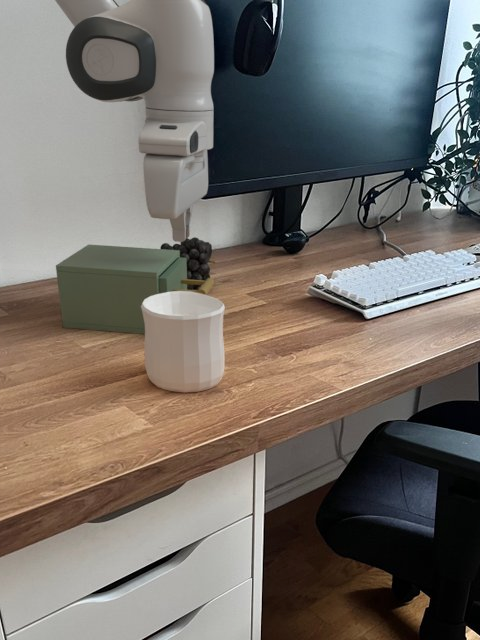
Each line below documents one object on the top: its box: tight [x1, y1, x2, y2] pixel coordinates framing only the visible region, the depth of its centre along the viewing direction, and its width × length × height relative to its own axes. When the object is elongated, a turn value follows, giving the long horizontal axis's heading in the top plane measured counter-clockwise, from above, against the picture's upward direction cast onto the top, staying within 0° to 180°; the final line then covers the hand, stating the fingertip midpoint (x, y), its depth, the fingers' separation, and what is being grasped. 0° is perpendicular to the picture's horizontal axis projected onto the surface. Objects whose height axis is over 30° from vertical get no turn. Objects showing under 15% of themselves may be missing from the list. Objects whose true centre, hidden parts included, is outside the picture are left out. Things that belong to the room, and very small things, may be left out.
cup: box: [141, 291, 226, 394], centre depth 84 cm, size 10×10×10 cm
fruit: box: [159, 236, 216, 290], centre depth 117 cm, size 9×8×15 cm
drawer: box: [159, 257, 215, 295], centre depth 102 cm, size 18×11×7 cm, turn 81°
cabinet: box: [55, 243, 180, 335], centre depth 103 cm, size 15×13×9 cm
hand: (181, 239), depth 98 cm, fingers closed
